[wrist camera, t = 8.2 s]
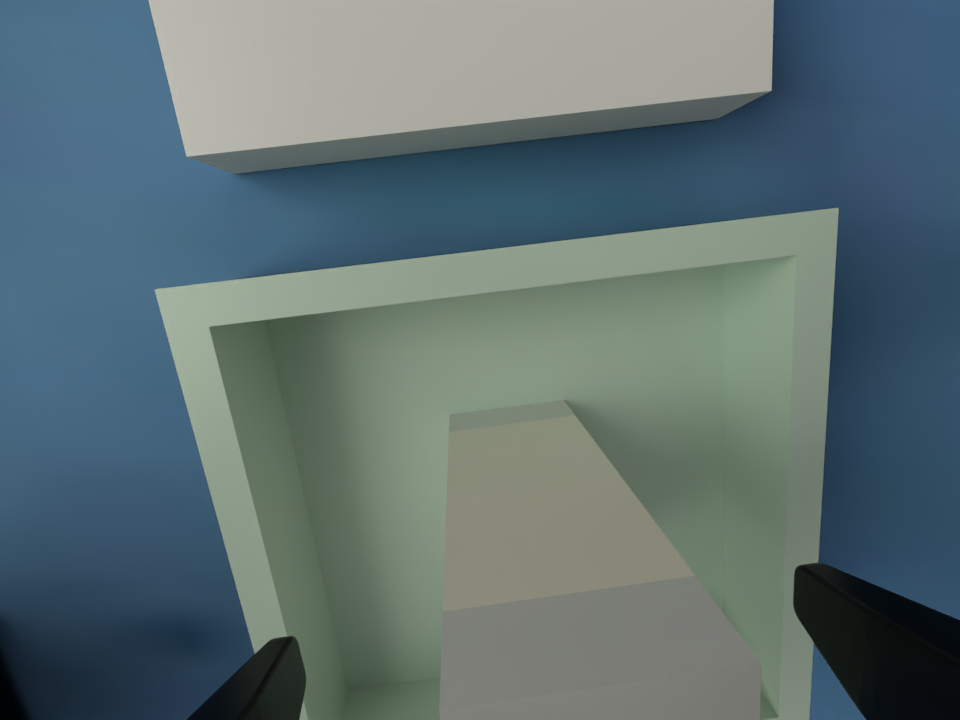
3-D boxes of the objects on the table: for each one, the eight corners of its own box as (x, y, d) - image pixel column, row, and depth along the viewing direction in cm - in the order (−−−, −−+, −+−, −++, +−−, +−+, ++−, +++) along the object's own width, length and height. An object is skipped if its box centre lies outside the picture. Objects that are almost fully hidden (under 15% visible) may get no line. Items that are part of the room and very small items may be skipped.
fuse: (577, 565, 13) (753, 1012, 5) (473, 579, 13) (499, 1054, 5) (563, 399, 12) (761, 664, 4) (449, 414, 12) (439, 711, 4)
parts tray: (732, 634, 15) (807, 737, 12) (332, 691, 15) (298, 813, 11) (736, 220, 12) (838, 207, 9) (236, 280, 12) (154, 289, 9)
